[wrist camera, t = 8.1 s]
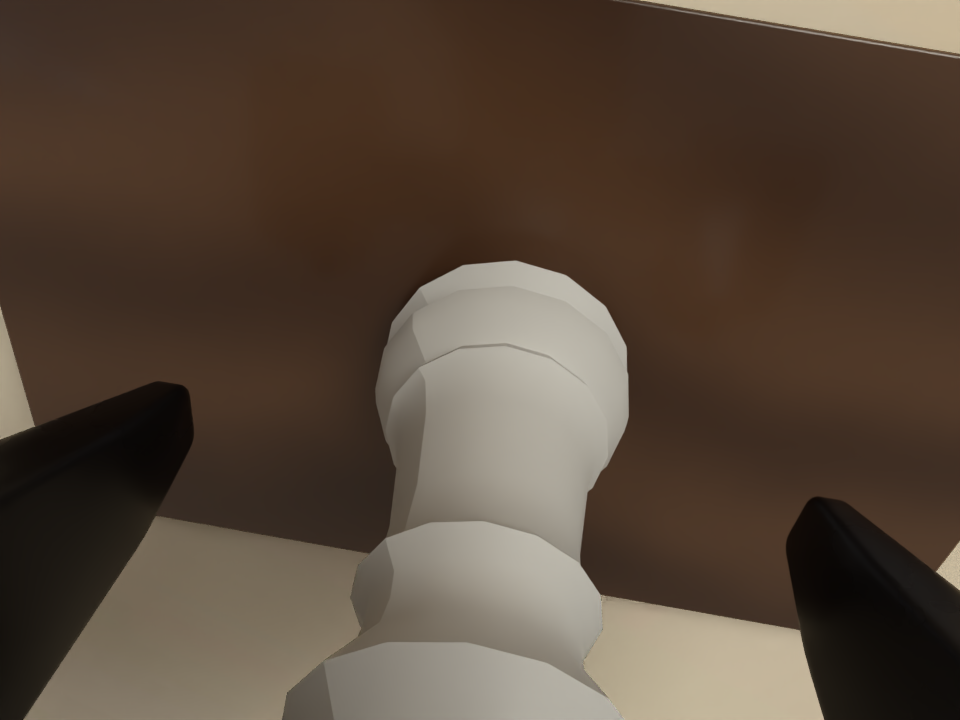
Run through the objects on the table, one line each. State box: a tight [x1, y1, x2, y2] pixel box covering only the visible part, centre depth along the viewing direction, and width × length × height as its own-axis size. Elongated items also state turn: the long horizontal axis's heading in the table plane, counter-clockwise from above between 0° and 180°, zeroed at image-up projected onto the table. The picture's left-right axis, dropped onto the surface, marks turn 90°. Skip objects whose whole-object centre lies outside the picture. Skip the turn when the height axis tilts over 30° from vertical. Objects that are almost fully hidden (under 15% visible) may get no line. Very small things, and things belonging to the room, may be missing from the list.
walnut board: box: [0, 0, 960, 630], centre depth 12 cm, size 12×20×1 cm, turn 82°
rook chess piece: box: [282, 261, 629, 720], centre depth 8 cm, size 4×4×8 cm
